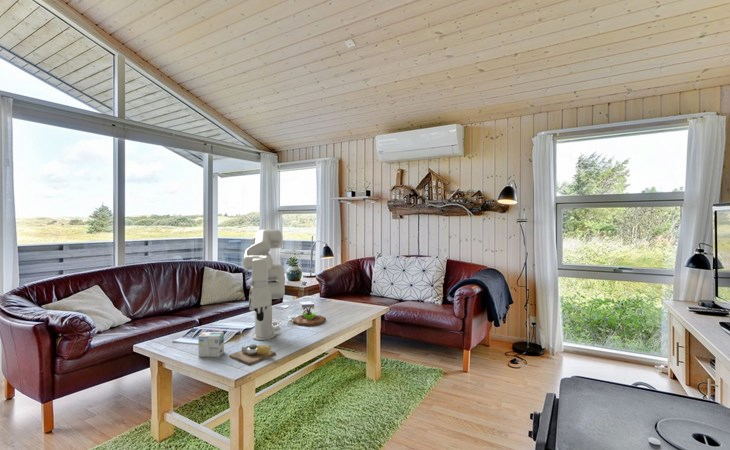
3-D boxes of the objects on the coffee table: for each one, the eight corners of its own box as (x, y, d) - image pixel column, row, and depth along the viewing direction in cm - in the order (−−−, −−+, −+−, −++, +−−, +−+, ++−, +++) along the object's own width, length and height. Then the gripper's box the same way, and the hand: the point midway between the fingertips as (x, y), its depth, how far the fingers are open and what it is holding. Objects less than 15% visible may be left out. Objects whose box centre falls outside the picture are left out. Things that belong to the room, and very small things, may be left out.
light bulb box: (224, 351, 189) (224, 331, 189) (219, 357, 183) (219, 336, 182) (203, 351, 189) (203, 331, 188) (198, 357, 182) (197, 335, 182)
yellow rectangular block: (239, 354, 183) (239, 346, 182) (246, 349, 189) (246, 341, 189) (266, 357, 180) (266, 349, 179) (272, 352, 186) (272, 344, 186)
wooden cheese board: (255, 347, 196) (255, 337, 196) (275, 354, 186) (275, 344, 186) (229, 356, 183) (229, 346, 183) (249, 365, 173) (249, 354, 173)
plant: (313, 328, 228) (313, 311, 228) (288, 324, 236) (288, 307, 236) (330, 320, 246) (330, 303, 246) (305, 316, 254) (306, 300, 254)
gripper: (249, 287, 169) (249, 325, 171) (277, 282, 180) (277, 318, 181) (241, 284, 175) (242, 321, 176) (269, 279, 185) (269, 315, 186)
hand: (260, 320), depth 179 cm, fingers closed
